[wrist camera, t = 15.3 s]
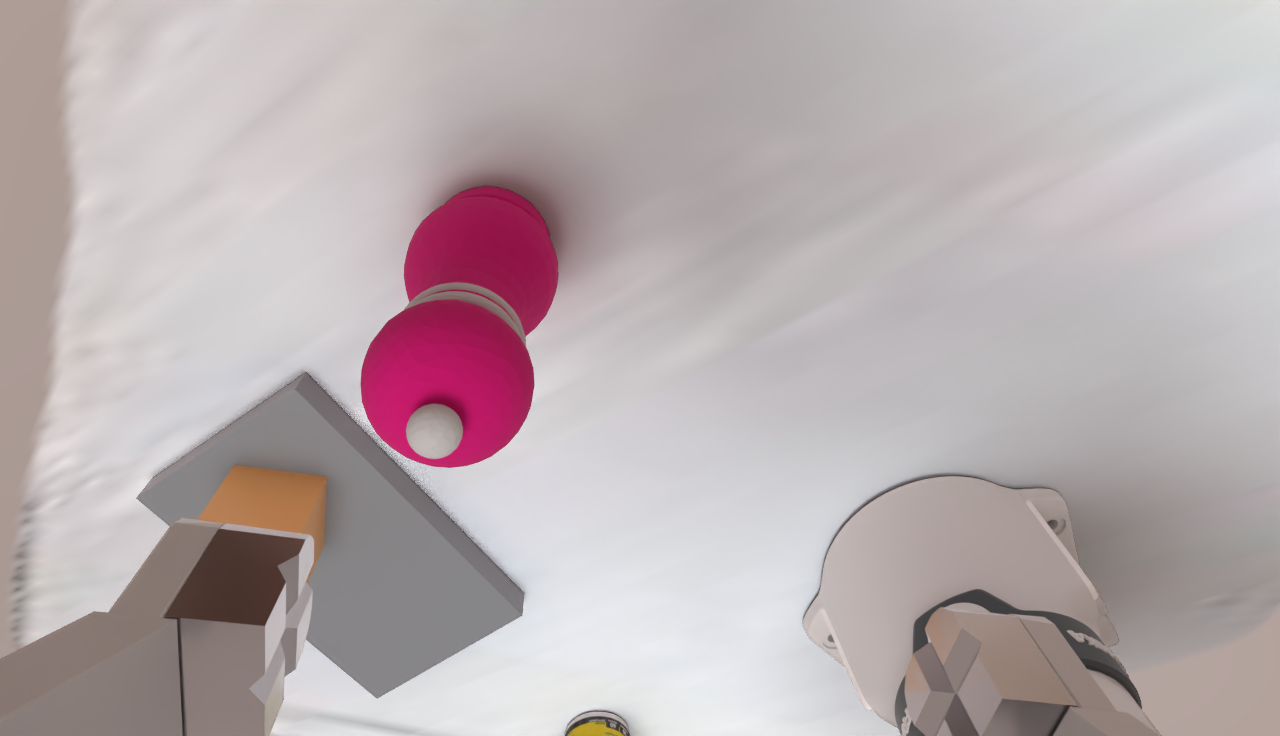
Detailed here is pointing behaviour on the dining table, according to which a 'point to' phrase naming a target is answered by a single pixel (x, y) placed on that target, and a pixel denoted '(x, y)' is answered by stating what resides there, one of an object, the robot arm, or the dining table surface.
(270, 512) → the tangerine wooden cube
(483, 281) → the pepper mill
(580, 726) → the supplement bottle
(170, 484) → the plate
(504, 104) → the dining table surface
